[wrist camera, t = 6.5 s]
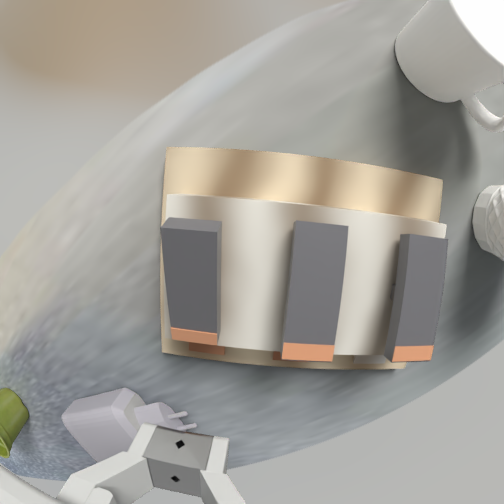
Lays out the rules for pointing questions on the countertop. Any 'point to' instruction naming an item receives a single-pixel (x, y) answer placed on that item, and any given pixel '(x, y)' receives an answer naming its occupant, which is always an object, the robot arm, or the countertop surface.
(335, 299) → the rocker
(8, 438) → the plant pot
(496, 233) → the white cup
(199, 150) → the switch panel
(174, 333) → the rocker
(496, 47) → the mug
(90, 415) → the charger
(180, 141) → the countertop surface
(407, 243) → the rocker
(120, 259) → the countertop surface
